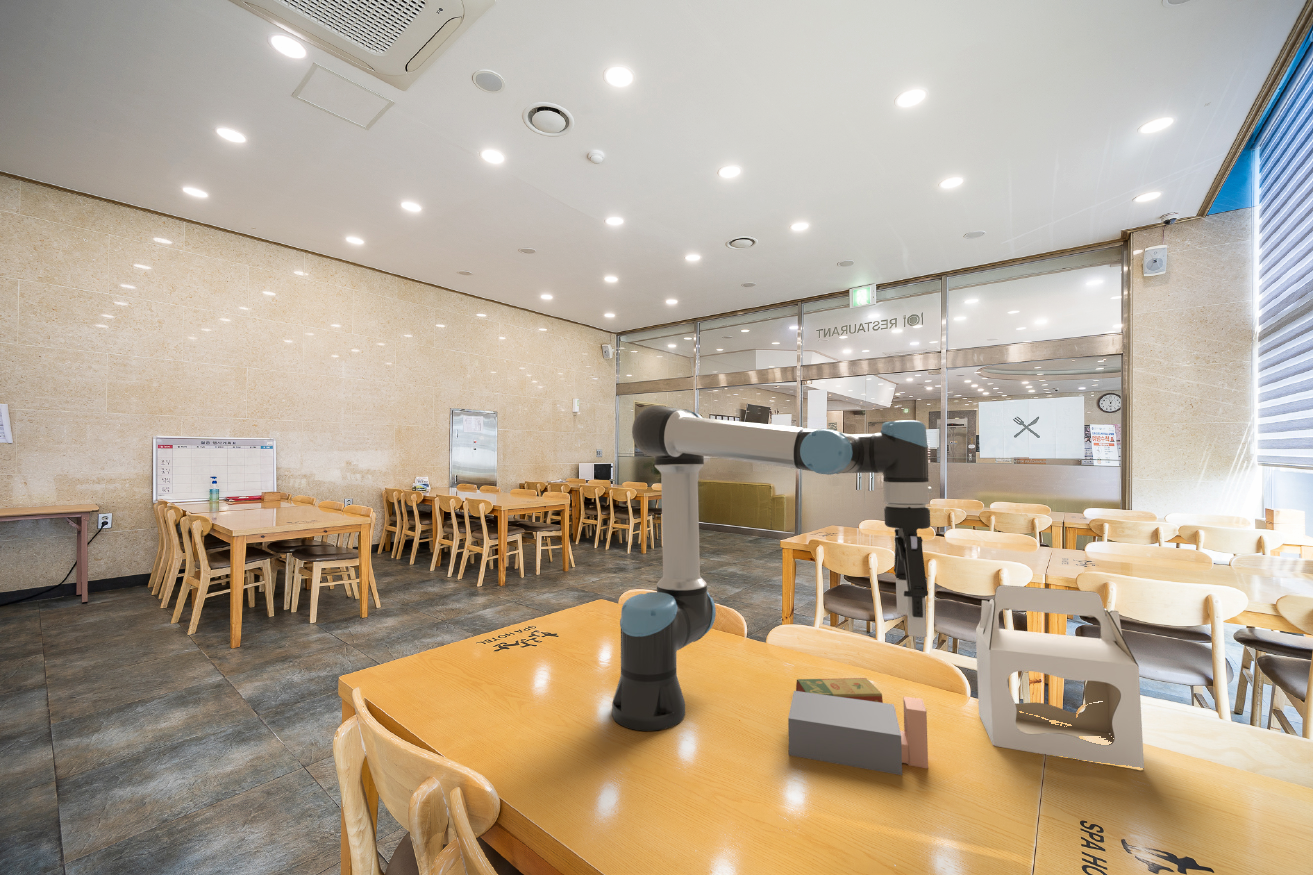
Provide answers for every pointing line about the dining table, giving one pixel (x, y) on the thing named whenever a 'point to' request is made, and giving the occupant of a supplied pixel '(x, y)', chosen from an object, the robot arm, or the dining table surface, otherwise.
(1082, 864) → the dining table surface
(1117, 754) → the gable box
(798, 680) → the carton
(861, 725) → the sleeve
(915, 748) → the tray
